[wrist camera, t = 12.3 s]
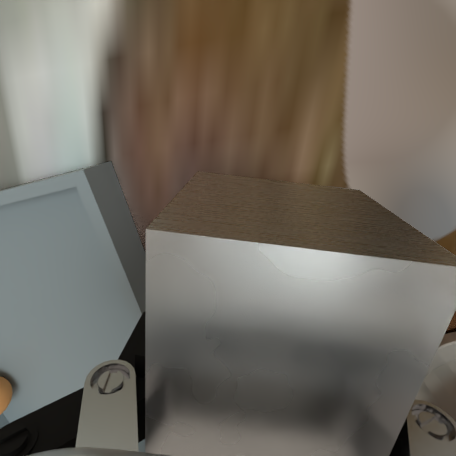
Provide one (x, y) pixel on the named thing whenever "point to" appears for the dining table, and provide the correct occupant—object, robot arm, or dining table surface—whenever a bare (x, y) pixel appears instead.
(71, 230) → the tray
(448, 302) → the silver metal block
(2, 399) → the ball
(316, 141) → the dining table surface
